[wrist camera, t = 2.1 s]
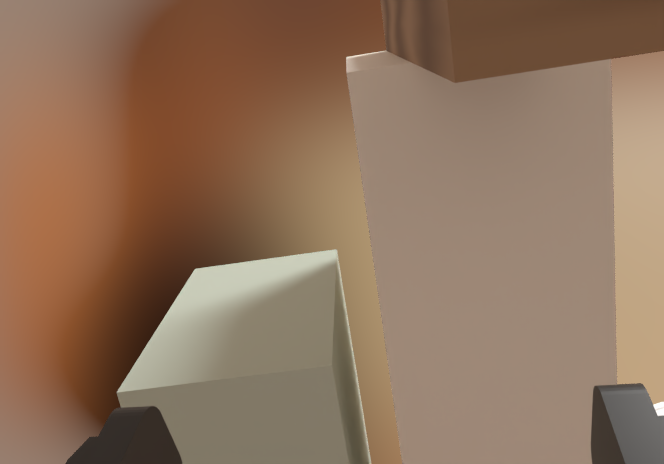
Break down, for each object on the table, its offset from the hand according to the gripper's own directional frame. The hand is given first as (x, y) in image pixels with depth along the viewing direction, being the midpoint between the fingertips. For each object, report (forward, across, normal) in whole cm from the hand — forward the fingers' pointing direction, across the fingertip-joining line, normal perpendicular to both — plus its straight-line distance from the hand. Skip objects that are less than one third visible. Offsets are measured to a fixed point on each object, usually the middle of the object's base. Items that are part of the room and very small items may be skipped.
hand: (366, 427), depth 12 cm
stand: (+10, +3, +29) cm, 31 cm away
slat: (+13, -3, -3) cm, 14 cm away
